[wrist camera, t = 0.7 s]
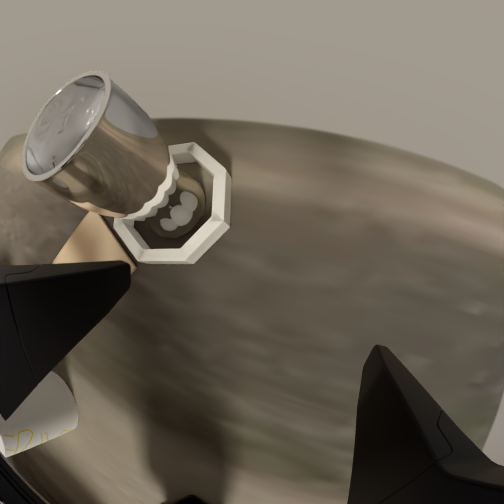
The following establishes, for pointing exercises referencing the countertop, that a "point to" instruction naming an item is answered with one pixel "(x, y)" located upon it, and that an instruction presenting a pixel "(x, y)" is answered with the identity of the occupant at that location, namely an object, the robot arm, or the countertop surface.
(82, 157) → the beer glass
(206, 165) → the holder ring
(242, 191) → the countertop surface
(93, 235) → the coaster
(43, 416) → the cup
